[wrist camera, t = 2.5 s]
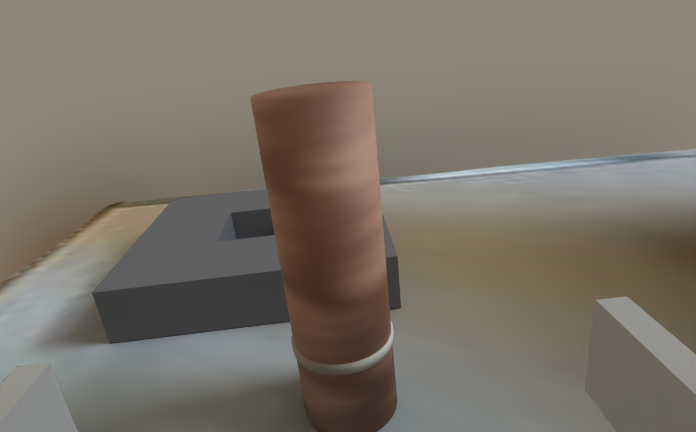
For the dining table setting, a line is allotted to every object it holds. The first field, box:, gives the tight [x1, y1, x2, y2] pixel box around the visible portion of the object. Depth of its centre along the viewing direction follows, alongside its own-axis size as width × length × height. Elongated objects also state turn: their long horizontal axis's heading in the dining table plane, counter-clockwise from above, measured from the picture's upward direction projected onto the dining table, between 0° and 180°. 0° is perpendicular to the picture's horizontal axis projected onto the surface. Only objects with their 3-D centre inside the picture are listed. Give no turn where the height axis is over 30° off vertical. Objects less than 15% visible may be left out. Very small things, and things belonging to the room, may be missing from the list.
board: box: [92, 189, 401, 343], centre depth 39 cm, size 20×18×4 cm
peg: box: [251, 81, 397, 432], centre depth 21 cm, size 5×5×16 cm
